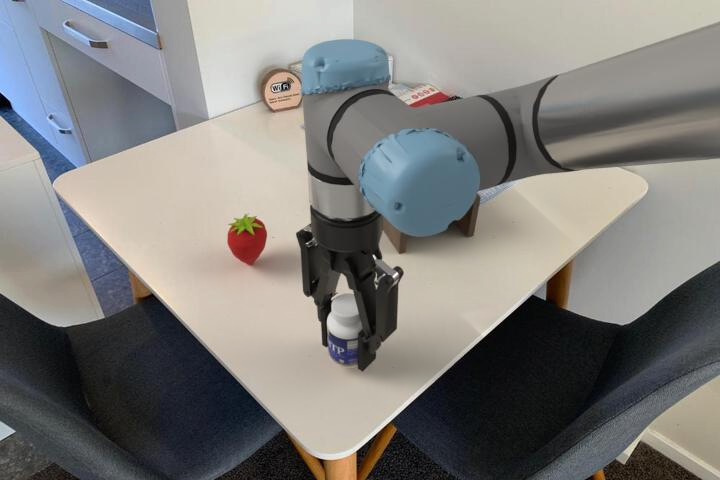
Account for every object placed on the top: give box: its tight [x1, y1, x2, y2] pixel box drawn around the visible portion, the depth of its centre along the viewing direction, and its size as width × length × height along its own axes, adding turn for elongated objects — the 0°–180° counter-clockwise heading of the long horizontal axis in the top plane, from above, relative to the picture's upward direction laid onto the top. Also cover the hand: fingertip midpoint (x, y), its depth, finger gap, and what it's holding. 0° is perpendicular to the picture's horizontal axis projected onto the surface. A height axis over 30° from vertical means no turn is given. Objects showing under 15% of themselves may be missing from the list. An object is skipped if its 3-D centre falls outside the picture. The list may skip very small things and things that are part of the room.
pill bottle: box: [327, 292, 363, 369], centre depth 65 cm, size 5×5×9 cm
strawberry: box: [226, 212, 268, 266], centre depth 80 cm, size 6×8×10 cm
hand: (348, 351), depth 67 cm, fingers closed on pill bottle, 5 cm apart
